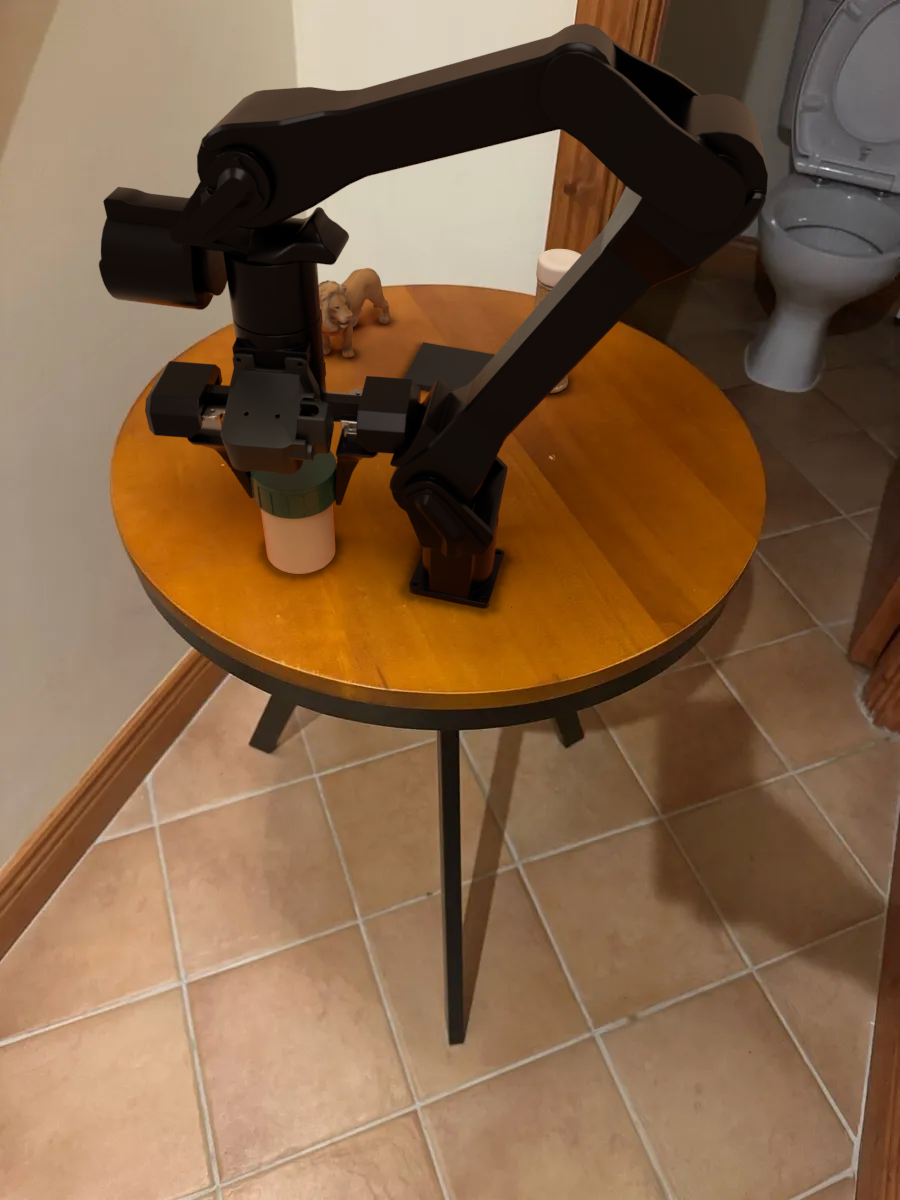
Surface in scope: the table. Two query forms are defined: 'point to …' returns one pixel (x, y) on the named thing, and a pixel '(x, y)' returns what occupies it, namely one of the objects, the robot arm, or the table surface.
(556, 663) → the table surface
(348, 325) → the lion figurine
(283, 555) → the jar
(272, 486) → the lid
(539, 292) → the spice bottle
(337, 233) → the robot arm
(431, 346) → the coaster
